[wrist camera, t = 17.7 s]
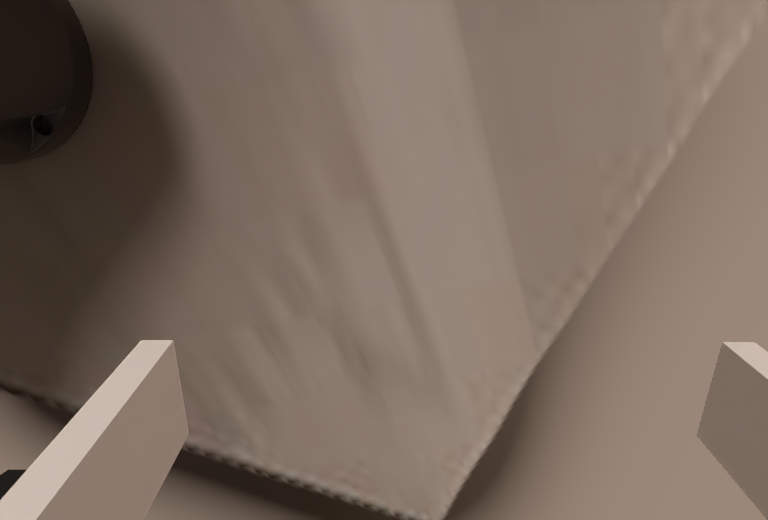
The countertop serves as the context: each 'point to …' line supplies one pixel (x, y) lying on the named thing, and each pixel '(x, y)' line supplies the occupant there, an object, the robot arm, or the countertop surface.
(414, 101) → the countertop surface
